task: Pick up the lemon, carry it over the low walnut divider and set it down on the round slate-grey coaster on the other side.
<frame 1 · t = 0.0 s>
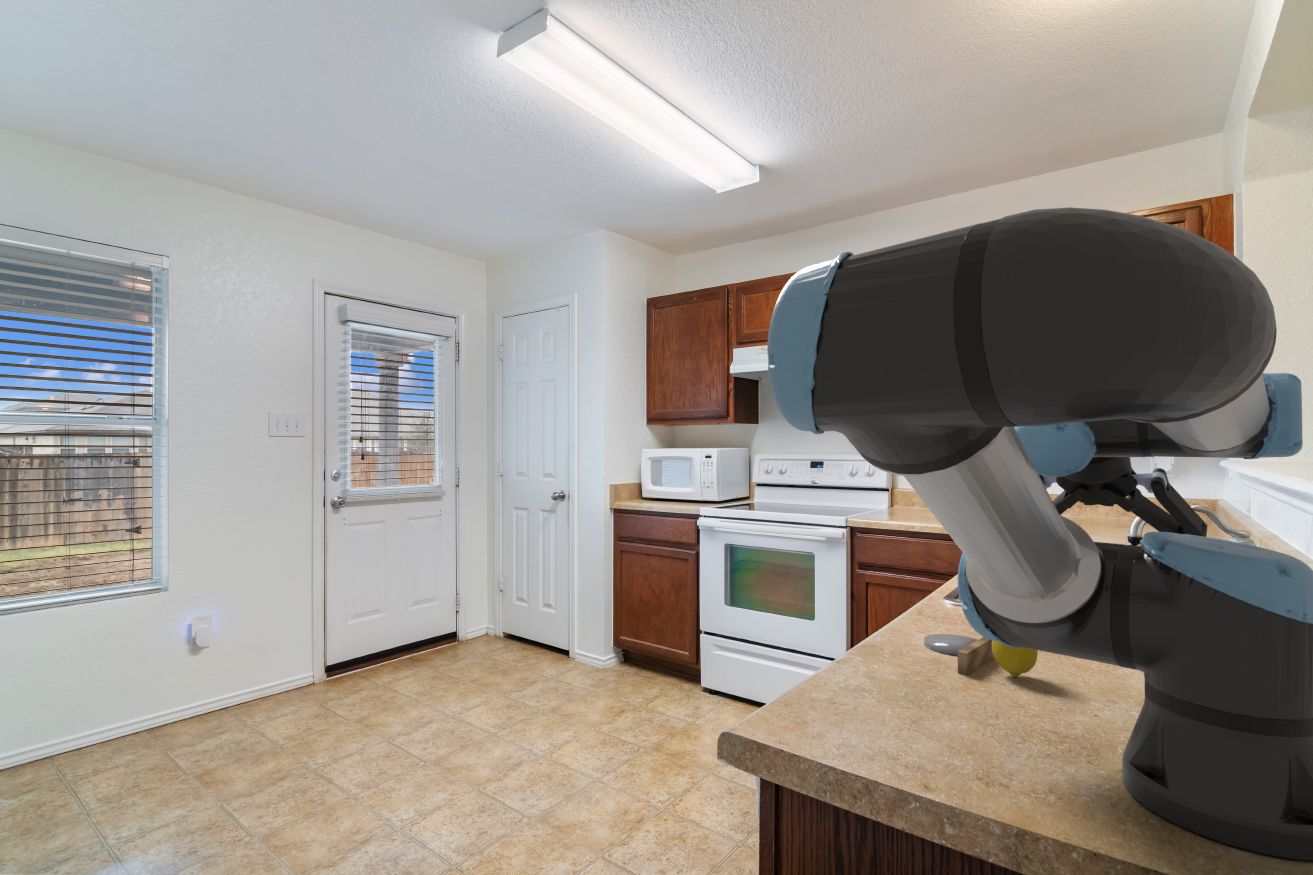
hand: (1112, 569, 86), 15 cm above the countertop, tool tilted 35°, fingers open, 13 cm apart
divider: (984, 659, 95), on the countertop
lemon: (1014, 678, 88), on the countertop
coaster: (954, 646, 101), on the countertop
paper cup: (992, 629, 112), on the countertop
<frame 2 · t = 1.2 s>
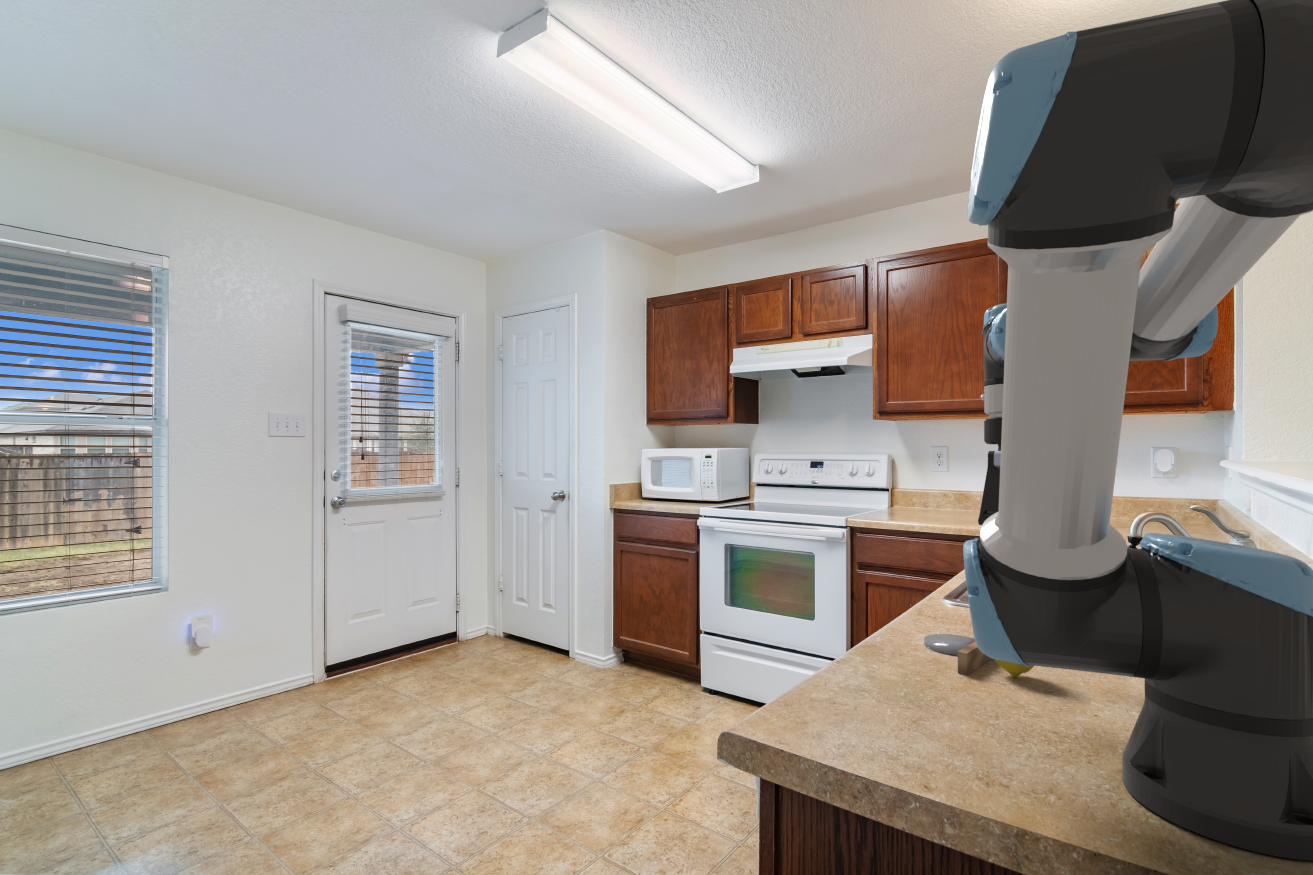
hand: (1015, 569, 88), 15 cm above the countertop, tool pointing down, fingers open, 13 cm apart
nothing on the countertop moved.
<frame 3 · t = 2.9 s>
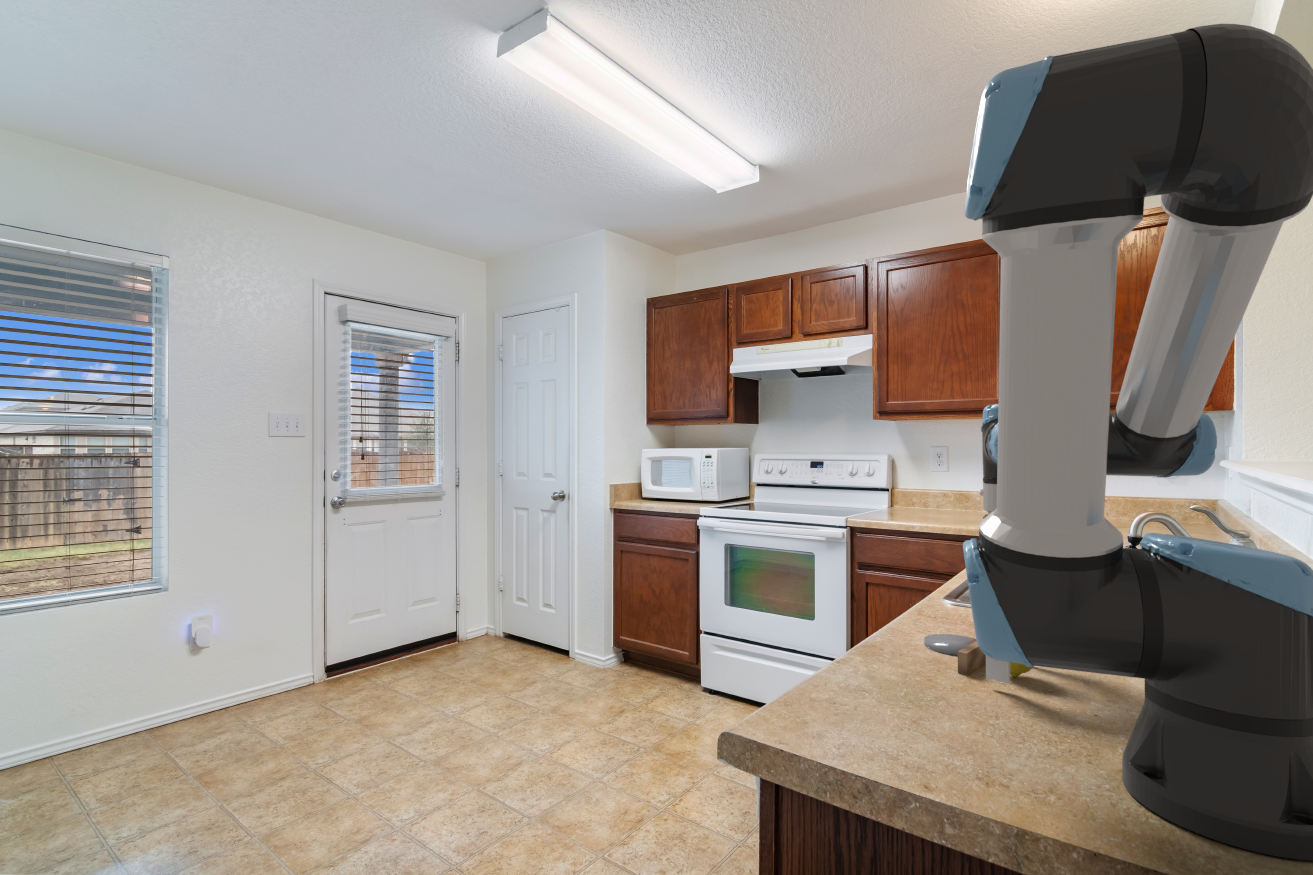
hand: (1014, 668, 88), 1 cm above the countertop, tool pointing down, fingers open, 13 cm apart
nothing on the countertop moved.
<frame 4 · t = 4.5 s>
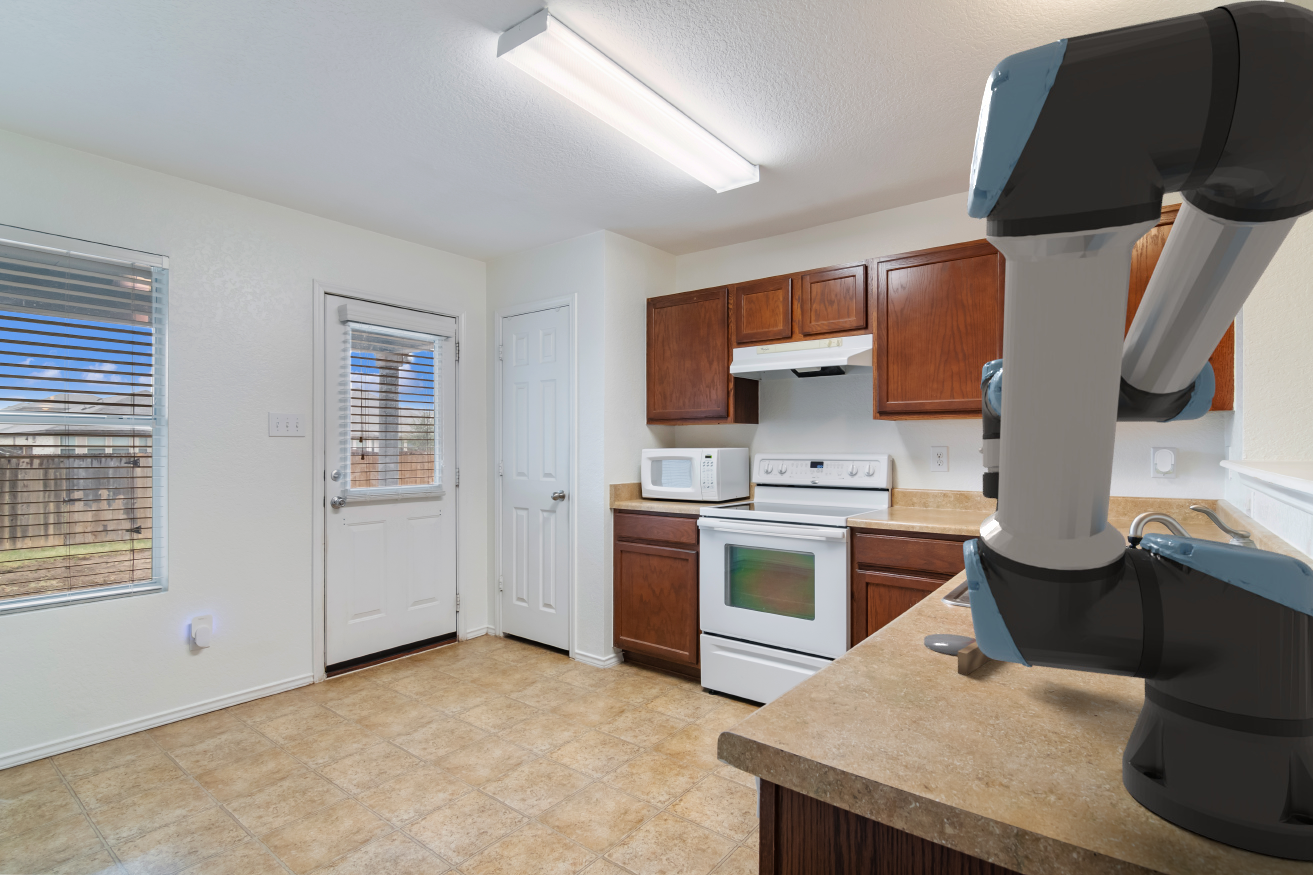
hand: (1014, 638, 87), 5 cm above the countertop, tool pointing down, fingers closed on lemon, 5 cm apart
lemon: (1015, 642, 87), point 5 cm above the countertop, touching gripper
everything else where it was.
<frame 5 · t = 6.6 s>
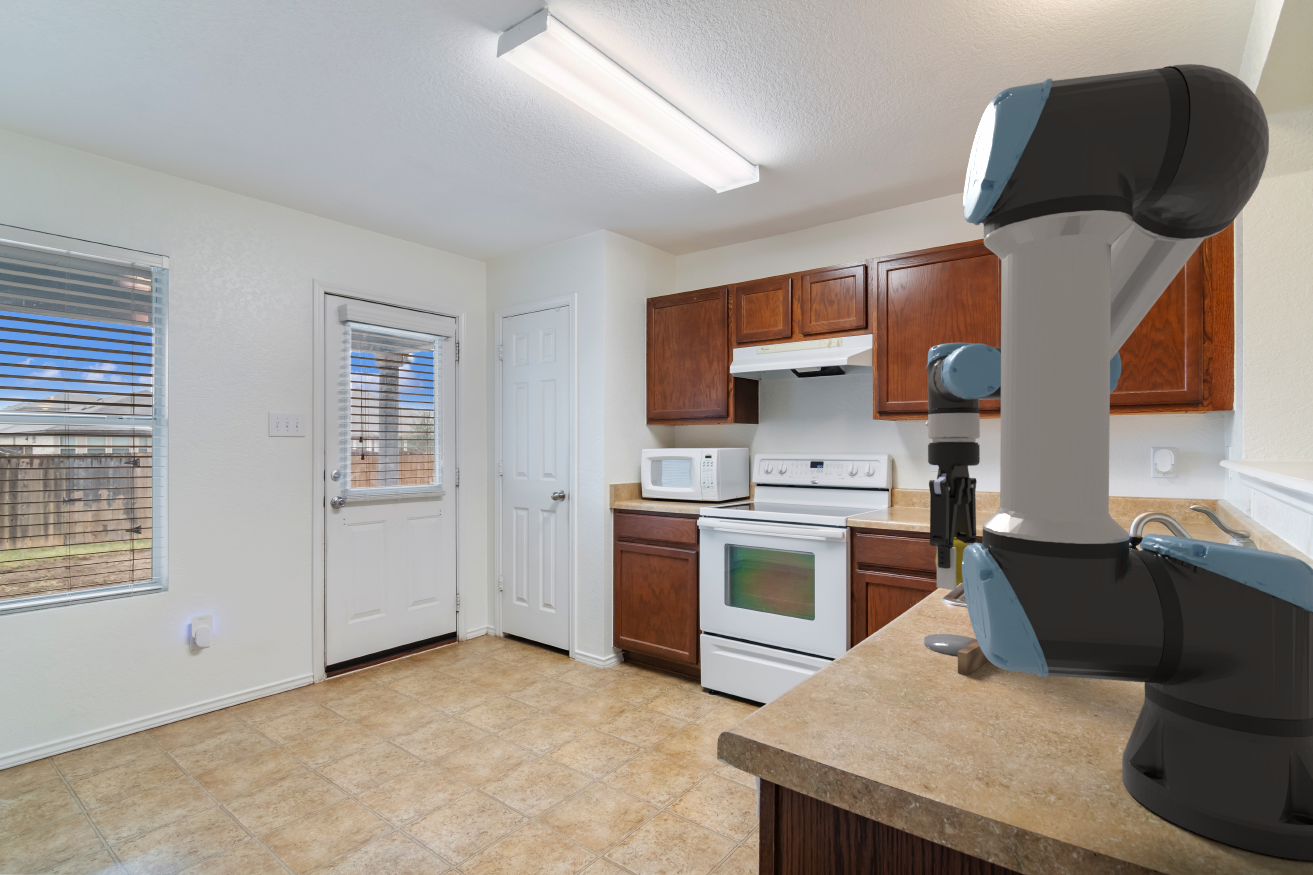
hand: (954, 585, 102), 10 cm above the countertop, tool pointing down, fingers closed on lemon, 5 cm apart
lemon: (954, 588, 102), point 9 cm above the countertop, touching gripper
everything else where it was.
when the fingers open (2 cm above the countertop, at t = 8.6 s): lemon stays where it is, resting on coaster.
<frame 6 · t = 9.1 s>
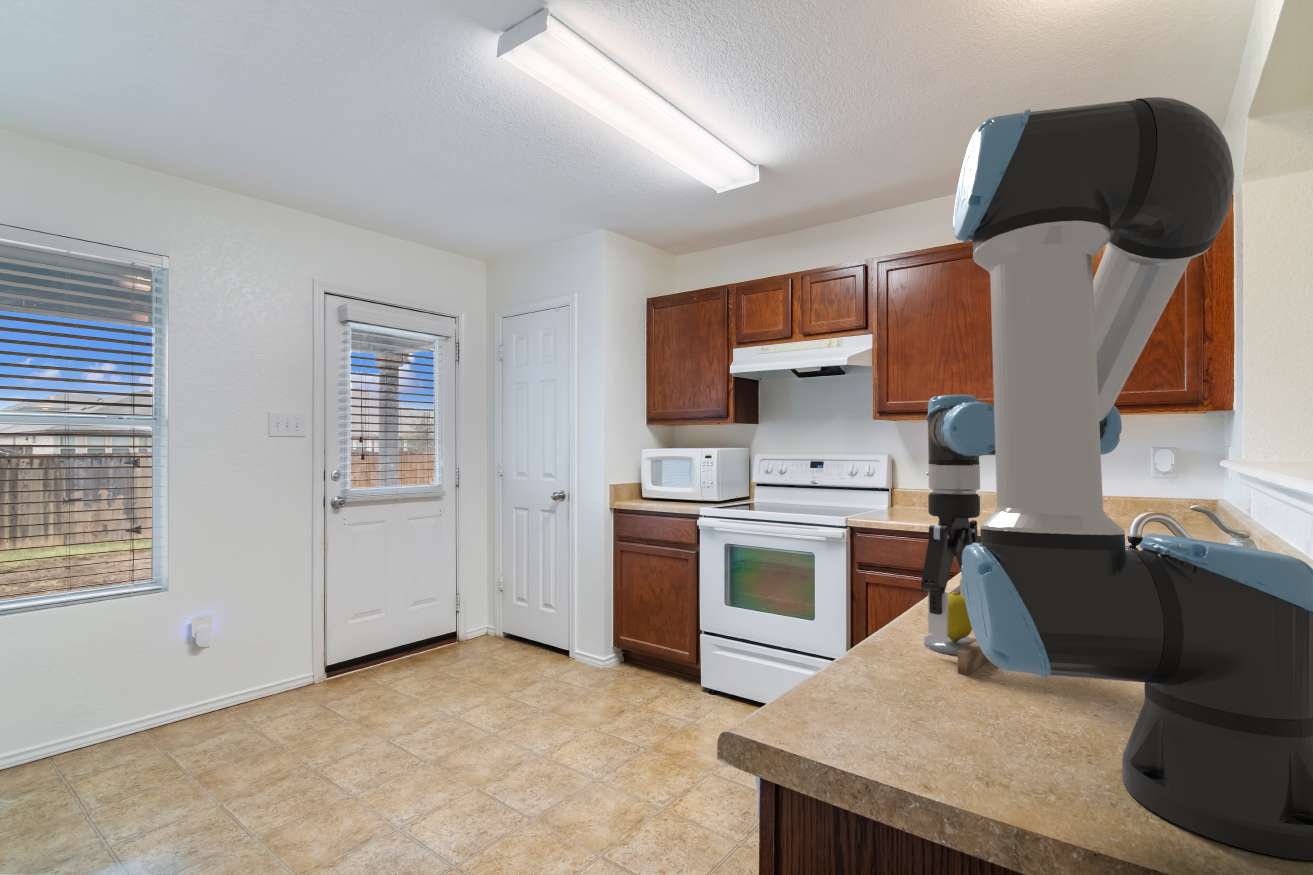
hand: (954, 626, 101), 3 cm above the countertop, tool pointing down, fingers open, 12 cm apart
lemon: (954, 643, 101), point 1 cm above the countertop, touching coaster
everything else where it was.
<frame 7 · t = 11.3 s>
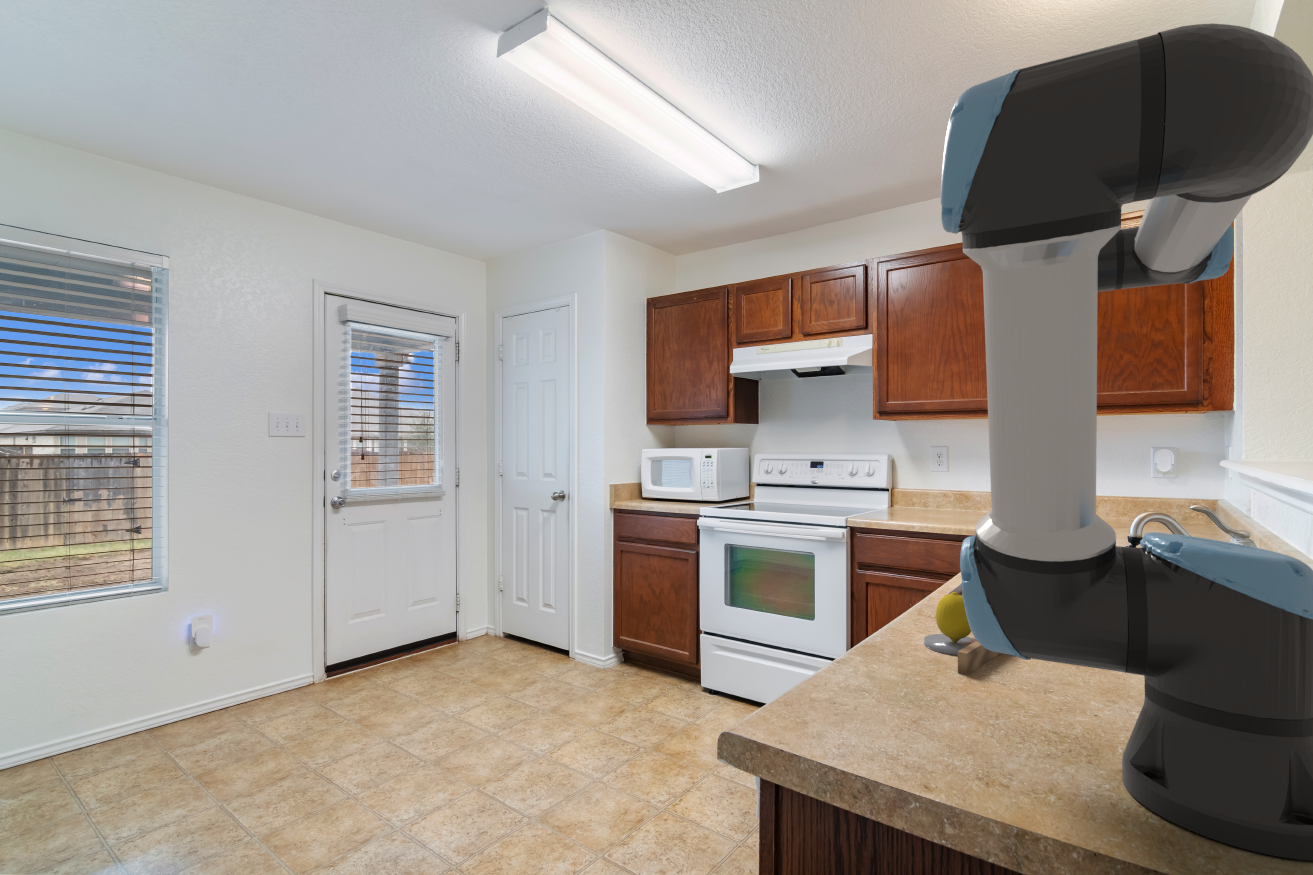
hand: (1050, 497, 92), 25 cm above the countertop, tool pointing down, fingers open, 13 cm apart
nothing on the countertop moved.
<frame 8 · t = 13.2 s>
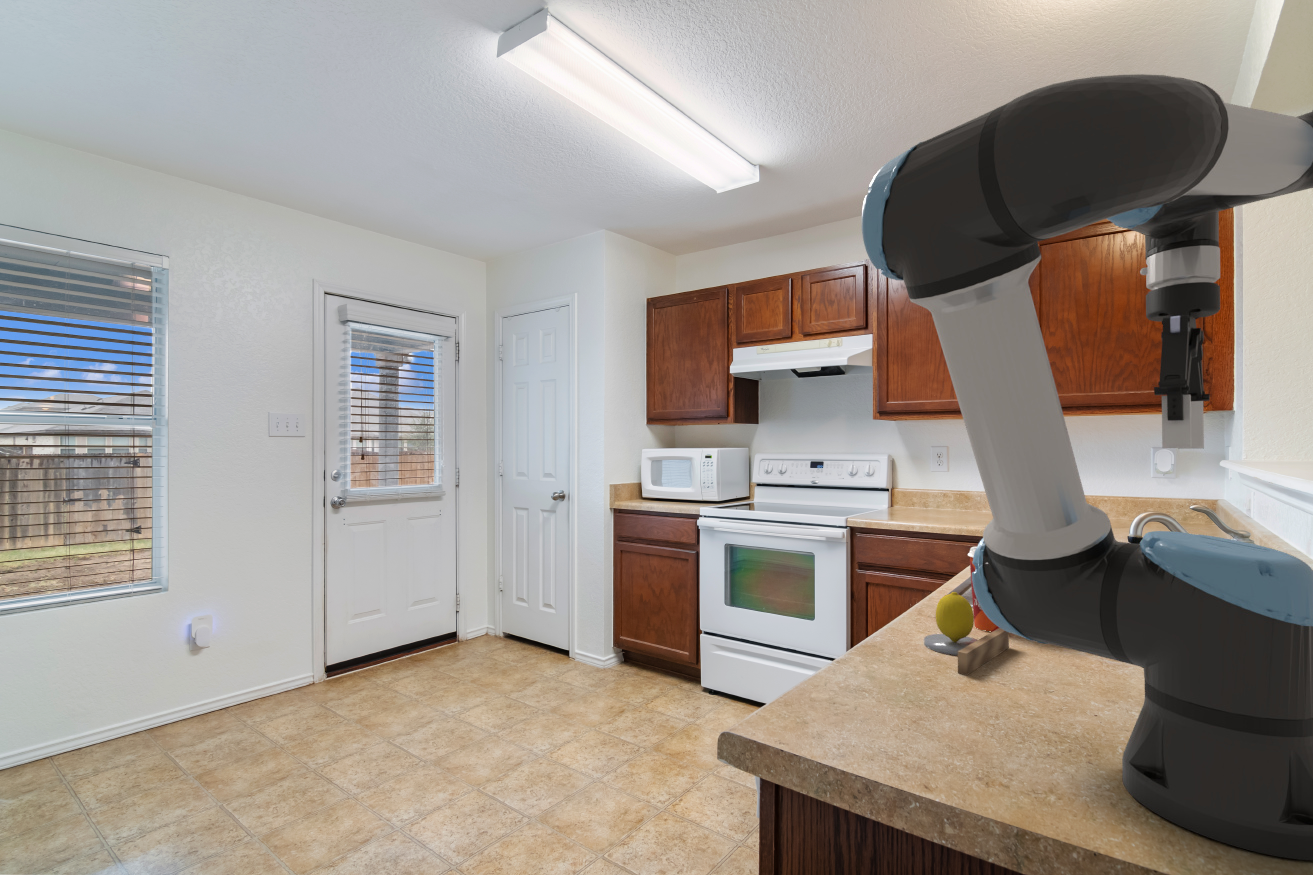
hand: (1184, 448, 83), 32 cm above the countertop, tool pointing down, fingers open, 13 cm apart
nothing on the countertop moved.
at the end: lemon 0.2 cm from the coaster (horizontally); lemon touching coaster; the gripper is holding nothing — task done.
